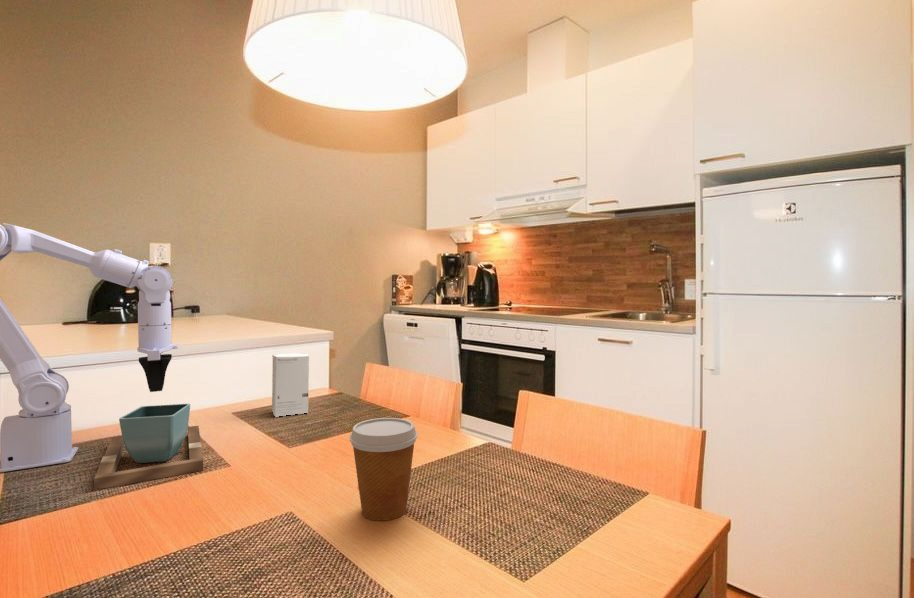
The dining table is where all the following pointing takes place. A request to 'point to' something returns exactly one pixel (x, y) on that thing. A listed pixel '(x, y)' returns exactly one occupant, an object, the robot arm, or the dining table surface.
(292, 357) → the skincare box
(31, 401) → the robot arm
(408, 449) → the disposable coffee cup
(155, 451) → the flower pot
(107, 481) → the wooden frame
